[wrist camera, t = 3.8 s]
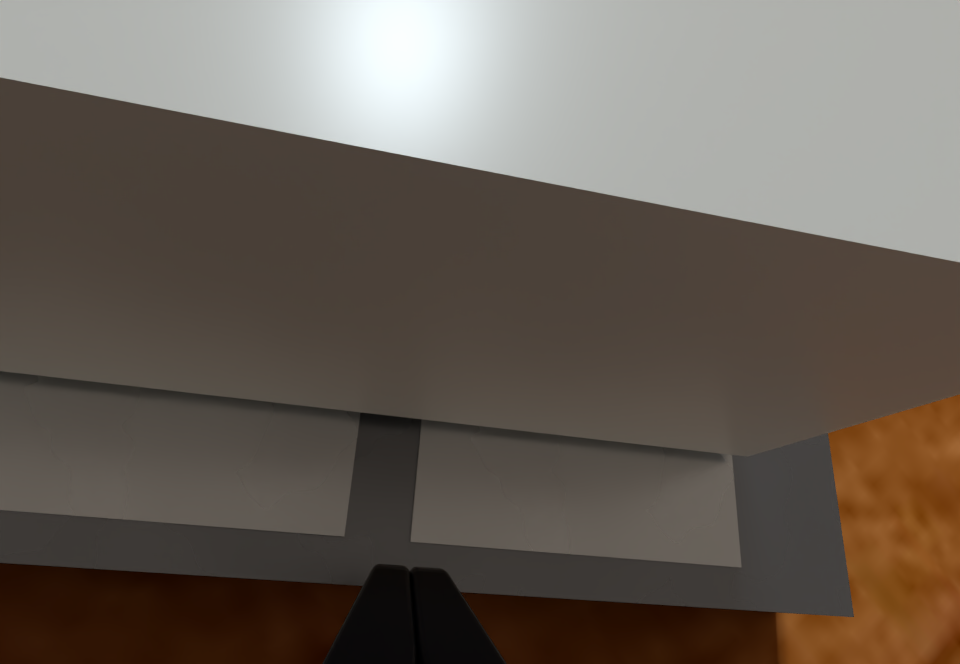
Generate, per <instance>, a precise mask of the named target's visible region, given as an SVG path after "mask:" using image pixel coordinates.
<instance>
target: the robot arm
mask: <svg viewBox="0 0 960 664" xmlns="http://www.w3.org/2000/svg"><path fill="white" fill-rule="evenodd" d="M322 664H506V662H505V661H504V659H503V657H502V656H501V654H500V653H499V651H498V650H497V648H496V647H495V645H494V644H493V642H492V640H491V639H490V637H489V636H488V634H487V633H486V631H485V630H484V628H483V626H482V625H481V623H480V622H479V620H478V619H477V617H476V616H475V614H474V613H473V611H472V609H471V608H470V606H469V605H468V603H467V602H466V600H465V599H464V597H463V595H462V594H461V592H460V591H459V589H458V588H457V586H456V585H455V583H454V582H453V580H452V578H451V577H450V575H449V574H448V572H447V571H445V570H444V569H442V568H431V567H413V568H412V569H411V570H410V571H409V569H408V568H407V567H406V566H403V565H389V564H377V565H375V566H374V567H373V568H372V569H371V571H370V573H369V575H368V577H367V579H366V581H365V583H364V585H363V587H362V588H361V590H360V592H359V594H358V596H357V598H356V600H355V602H354V604H353V606H352V608H351V610H350V612H349V613H348V615H347V617H346V619H345V621H344V623H343V625H342V627H341V629H340V631H339V633H338V635H337V637H336V638H335V640H334V642H333V644H332V646H331V648H330V650H329V652H328V654H327V656H326V658H325V660H324V662H323V663H322Z"/></svg>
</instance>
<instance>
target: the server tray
mask: <svg viewBox="0 0 960 664" xmlns="http://www.w3.org/2000/svg"><path fill="white" fill-rule="evenodd" d="M0 563H7V564H23V565H39V566H55V567H70V568H86V569H102V570H118V571H133V572H149V573H165V574H181V575H196V576H212V577H228V578H244V579H259V580H275V581H291V582H307V583H322V584H338V585H354V586H363V585H364V583H365V581H366V579H367V577H368V575H369V573H370V571H371V569H372V568H373V567H374V566H375V565H377V564H389V565H403V566H406V567H407V568H408V569H409V571H410V570H411V569H412V568H413V567H431V568H442V569H444V570H445V571H447V572H448V574H449V575H450V577H451V578H452V580H453V582H454V583H455V585H456V586H457V588H458V589H459V591H460V592H464V593H480V594H496V595H511V596H527V597H543V598H559V599H574V600H590V601H606V602H622V603H637V604H653V605H669V606H685V607H700V608H716V609H732V610H748V611H763V612H779V613H796V614H813V615H829V616H846V617H854V615H853V608H852V601H851V594H850V587H849V580H848V573H847V565H846V558H845V551H844V544H843V537H842V530H841V523H840V516H839V509H838V502H837V495H836V488H835V481H834V474H833V467H832V460H831V453H830V446H829V439H828V433H826V434H823V435H819V436H816V437H813V438H809V439H806V440H802V441H799V442H796V443H792V444H789V445H785V446H782V447H779V448H775V449H772V450H768V451H765V452H762V453H758V454H755V455H751V456H748V457H746V456H737V455H729V454H720V453H711V452H702V451H694V450H685V449H676V448H667V447H659V446H650V445H641V444H633V443H624V442H615V441H606V440H598V439H589V438H580V437H572V436H563V435H554V434H545V433H537V432H528V431H519V430H510V429H502V428H493V427H484V426H476V425H467V424H458V423H449V422H441V421H432V420H423V419H414V418H406V417H397V416H388V415H380V414H371V413H362V412H353V411H345V410H336V409H327V408H318V407H310V406H301V405H292V404H284V403H275V402H266V401H257V400H249V399H240V398H231V397H222V396H214V395H205V394H196V393H188V392H179V391H170V390H161V389H153V388H144V387H135V386H127V385H118V384H109V383H100V382H92V381H83V380H74V379H65V378H57V377H48V376H39V375H31V374H22V373H13V372H4V371H0Z"/></svg>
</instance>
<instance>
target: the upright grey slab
mask: <svg viewBox="0 0 960 664" xmlns="http://www.w3.org/2000/svg"><path fill="white" fill-rule="evenodd" d="M0 371H4V372H13V373H22V374H31V375H39V376H48V377H57V378H65V379H74V380H83V381H92V382H100V383H109V384H118V385H127V386H135V387H144V388H153V389H161V390H170V391H179V392H188V393H196V394H205V395H214V396H222V397H231V398H240V399H249V400H257V401H266V402H275V403H284V404H292V405H301V406H310V407H318V408H327V409H336V410H345V411H353V412H362V413H371V414H380V415H388V416H397V417H406V418H414V419H423V420H432V421H441V422H449V423H458V424H467V425H476V426H484V427H493V428H502V429H510V430H519V431H528V432H537V433H545V434H554V435H563V436H572V437H580V438H589V439H598V440H606V441H615V442H624V443H633V444H641V445H650V446H659V447H667V448H676V449H685V450H694V451H702V452H711V453H720V454H729V455H737V456H746V457H748V456H751V455H755V454H758V453H762V452H765V451H768V450H772V449H775V448H779V447H782V446H785V445H789V444H792V443H796V442H799V441H802V440H806V439H809V438H813V437H816V436H819V435H823V434H826V433H830V432H833V431H836V430H840V429H843V428H847V427H850V426H853V425H857V424H860V423H864V422H867V421H870V420H874V419H877V418H881V417H884V416H887V415H891V414H894V413H898V412H901V411H904V410H908V409H911V408H915V407H918V406H921V405H925V404H928V403H931V402H935V401H938V400H942V399H945V398H948V397H952V396H955V395H959V394H960V0H0Z"/></svg>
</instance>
